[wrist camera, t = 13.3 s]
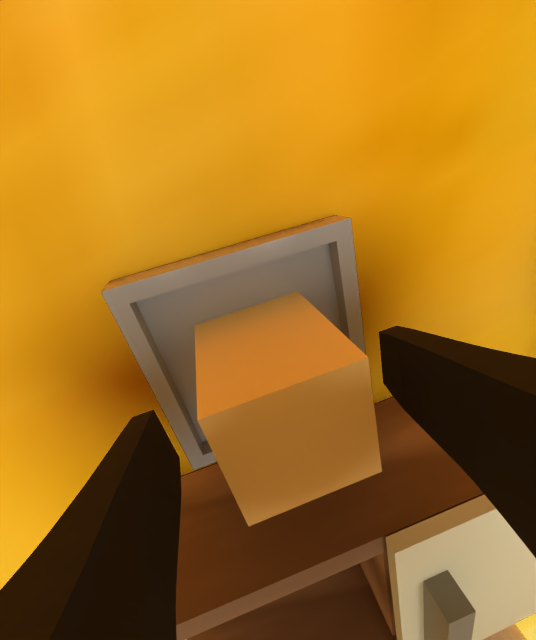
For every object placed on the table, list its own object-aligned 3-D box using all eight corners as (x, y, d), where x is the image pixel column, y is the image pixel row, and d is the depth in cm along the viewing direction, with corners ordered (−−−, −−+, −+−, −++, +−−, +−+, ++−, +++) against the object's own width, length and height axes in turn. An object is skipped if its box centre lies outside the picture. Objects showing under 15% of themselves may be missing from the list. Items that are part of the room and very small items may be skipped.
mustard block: (316, 375, 13) (381, 471, 9) (227, 407, 13) (248, 526, 8) (297, 291, 11) (368, 357, 7) (194, 325, 11) (197, 420, 6)
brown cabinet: (467, 492, 21) (551, 584, 16) (192, 610, 18) (193, 758, 14) (478, 364, 16) (604, 440, 11) (110, 503, 14) (67, 672, 9)
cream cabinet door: (536, 596, 16) (572, 639, 14) (399, 662, 15) (423, 716, 13) (584, 450, 11) (649, 493, 9) (385, 537, 10) (420, 599, 8)
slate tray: (357, 387, 15) (371, 403, 13) (193, 448, 14) (193, 470, 13) (334, 215, 11) (350, 217, 10) (110, 280, 10) (100, 291, 9)
